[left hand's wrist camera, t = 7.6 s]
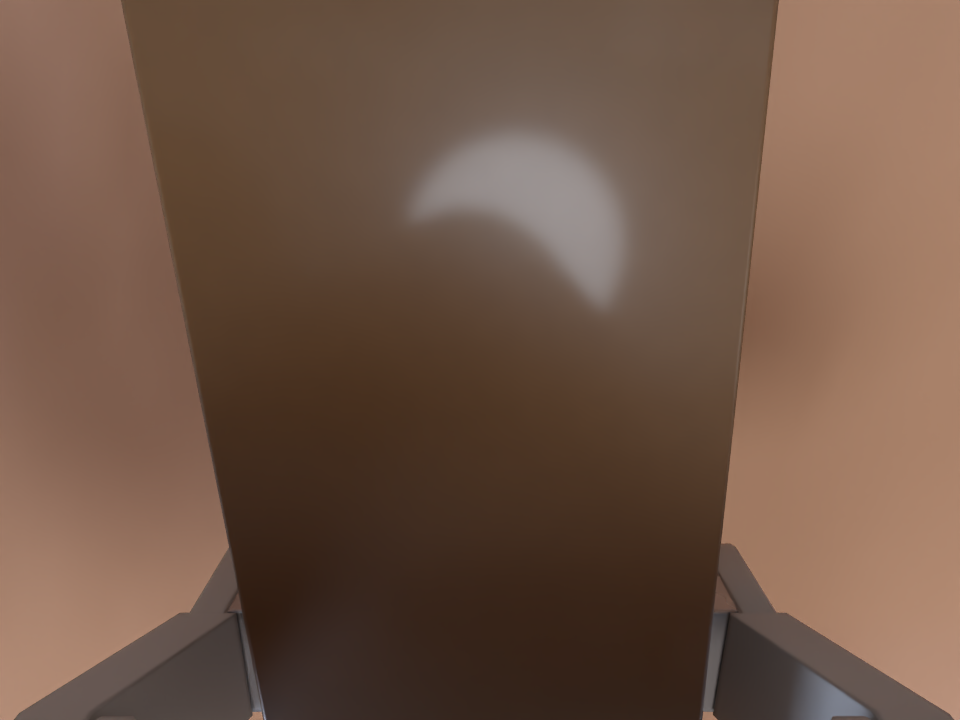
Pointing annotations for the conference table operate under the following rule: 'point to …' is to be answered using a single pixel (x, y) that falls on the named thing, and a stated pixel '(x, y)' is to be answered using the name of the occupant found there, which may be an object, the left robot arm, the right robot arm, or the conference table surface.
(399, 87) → the bar
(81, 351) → the conference table surface
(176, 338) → the conference table surface
